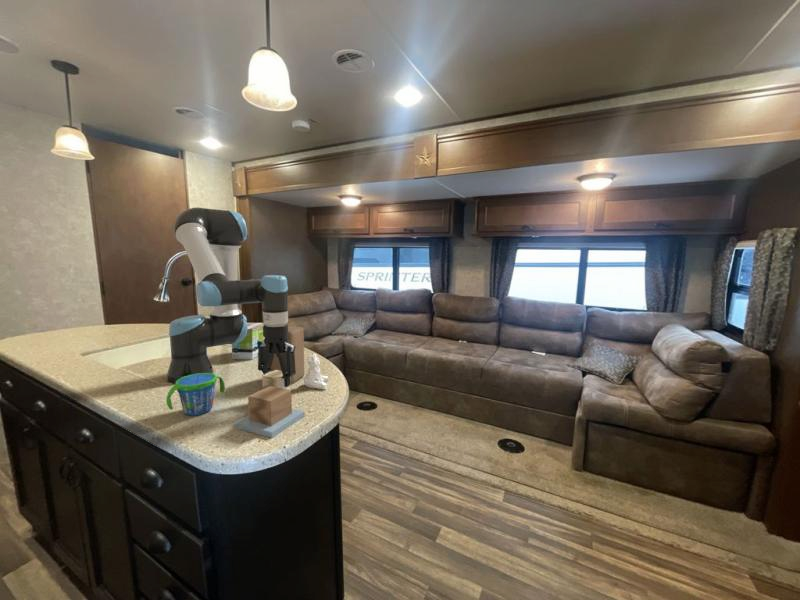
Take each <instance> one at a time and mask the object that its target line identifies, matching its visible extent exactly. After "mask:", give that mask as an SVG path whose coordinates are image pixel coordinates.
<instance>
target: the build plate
mask: <svg viewBox="0 0 800 600" xmlns="http://www.w3.org/2000/svg"><path fill="white" fill-rule="evenodd" d="M305 415H306V414H305V411H304V410H299V409H296V408H292V414H290V415H289V416H287V417H285V418H284V419H282V420H281V421H279V422H277V423H276V424H274V425H273V426H269V425H266V424H262V423H258V422H254V421H250V420H249V414H247V416H245V417H243V418H241V419H239V420H236V422H234V427H235V429H239V430H241V431H245V432H250V433H253V434H256V435H257V434H258V435H260V436H265V437H268V438H272V439H273V438H274V437H276V436H277V435H279V434H280V433H282V432H284V431H285V430H286V429H288V428H289V427H290V426H291V427H292V425H294V424H296V423H297V422H298V421H300V420H302V419H303V418H304V417H305Z"/></svg>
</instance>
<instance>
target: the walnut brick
mask: <svg viewBox="0 0 800 600" xmlns="http://www.w3.org/2000/svg"><path fill="white" fill-rule="evenodd" d="M247 398H248V401H247V403H248V415H249V420H250V421H254V422H258V423H262V424H266V425H269V426H273V425H274V424H276V423H277V422H279V421H281V420H282V419H284V418H285V417H287V416H289V415H290V414H292V409H293V405H292V403H293V401H292V390H287V389H282V388H277V387H272V386H269V387H267V388H264V389H263V388H262V389H260V390H258V391H256V392H253V393H252V394H250V395H248V396H247Z"/></svg>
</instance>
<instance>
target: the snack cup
mask: <svg viewBox="0 0 800 600" xmlns="http://www.w3.org/2000/svg"><path fill="white" fill-rule="evenodd" d="M217 379H218V380H219V392H220V393H224V392H225V391H226V385H225V381H224V379H223V378H222V377H221V376H219V375H216V374H215V373H213V374H212V373H198V374H192V375H188V376H185V377H182V378H180V379H178V380H177V381H176V383H174V385H173V386H172V387H170V389H169V391H168V394H167V395H166V405H167V407H168V409H169V410H174V407H173V404H172V399H171V398H172V395H173V394H174V393H175V392H176V391H177V392H178V396H179V398H180V405H181V407H182V411H183V413H184V415H187V416H199V415H203V414H205V413H208V412H211V411H212V409H213V407H214V400H215V390H216V389H215V388H216V382H217Z"/></svg>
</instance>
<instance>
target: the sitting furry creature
mask: <svg viewBox="0 0 800 600" xmlns="http://www.w3.org/2000/svg"><path fill="white" fill-rule="evenodd" d="M306 360H307V364H308V365H309V368H308V370H307V373H306V375H304V378H303V383H304V385H305V386H306V387H307V388H308V389H315V388H317V390H322V389H323V391H324V389H325V390H327V388H328V384H327V383H328V382H329V377H328V376H326V375H323V374H322V372H321V369H320V364H321V362H320V358H319V357H318V356H317V354H316V353H311V354H310V355H309V356H308V357H307V359H306ZM327 381H328V382H327Z"/></svg>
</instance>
